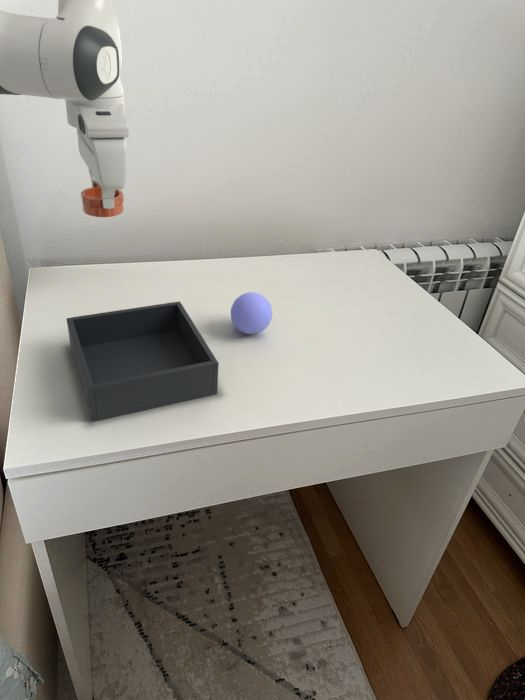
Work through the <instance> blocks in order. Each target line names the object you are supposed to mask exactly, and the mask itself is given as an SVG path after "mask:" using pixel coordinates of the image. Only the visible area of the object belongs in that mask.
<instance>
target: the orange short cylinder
mask: <svg viewBox="0 0 525 700" xmlns="http://www.w3.org/2000/svg"><path fill="white" fill-rule="evenodd" d="M101 196H102V192H101V187H92V186H91V187H88V188H85V189H83V190H81V192H80V200H81V203H82V204H81V205H82V211H83V213H84V214H86V215H88V216H89V217H96V218H113V217H116V216H119V215H121V214H122V213H124V208H125V207H124V193H123V191H122V190H121V189H120V190H115V195H114V207H113V208H110V209H105V208H104V207H103V205H102V202H101Z"/></svg>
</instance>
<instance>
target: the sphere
mask: <svg viewBox="0 0 525 700" xmlns="http://www.w3.org/2000/svg"><path fill="white" fill-rule="evenodd" d="M230 318H231V322H232V325H234V327H235V328H236V329H237V330H238V331H240V332H241V333H243V334H246V335H257V334H259V333H262V332H264V331H265V330H266V329H267V328H268V327H269V326H270V323H271V321H272V319H273V309H272V305H271V303H270V301H269V300H268V299H267V298H266V297H265V296H263V294H260V293H258V292H251V291H249V292H245V293H243V294H240V295H239V296H238V297H236V299H235V300H234V301H233V303H232V306H231V307H230Z"/></svg>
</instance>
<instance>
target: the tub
mask: <svg viewBox="0 0 525 700" xmlns="http://www.w3.org/2000/svg"><path fill="white" fill-rule="evenodd" d="M66 325H67V331H68V332H67V333H68V338H69V344H70V350H71V354H72V357H73V360H74V361H73V362H74V364H75V368H76V371H77V375H78V378H79V382H80V385H81V389H82V392H83V395H84V399H85V403H86V406H87V409H88V413H89V416H90V420H91V422H92V423H93V422H98V421H103V420H107V419H111V418H115V417H120V416H125V415H129V414H134V413H138V412H143V411H146V410H147V411H148V410H151V409H152V410H153V409H156V408H161V407H165V406H169V405H173V404H179V403H182V402H187V401H191V400H196V399H199V398H200V399H202V398H204V397H209V396H215V395H217V394H218V383H219V361H218V360H217V358H216V357H215V354H214V353H213V352H212V350H211V348H210V347H209V345H208V344H207V342H206V340H205V339H204V338H203V336H202V334H201V332H200V331H199V329H198V327H197V326H196V325H195V323H194V322H193V320H192V319H191V317H190V315H189V314H188V312H187V310H186V309H185V307H184V305H183V304H182V303H181V301H172V302H165V303H158V304H152V305H145V306H138V307H132V308H126V309H119V310H113V311H106V312H105V311H104V312H99V313H92V314H85V315H78V316H72V317H67V318H66Z"/></svg>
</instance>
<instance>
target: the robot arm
mask: <svg viewBox="0 0 525 700" xmlns="http://www.w3.org/2000/svg"><path fill="white" fill-rule="evenodd" d="M57 9H58V10H57V15H56V16H55V17H51V18H50V17H42V16H41V17H40V16H33V15H25V14H17V13H11V12H7V11H3V10H0V95H7V96H10V95H11V96H23V95H24V96H32V97H39V98H47V99H56V100H64V102H65V109H66V120H67V123H68V125H69V126H71V127H72V128H75V129H76V134H77V144H78V152H79V156H80V157H81V159H82V160H83V163H85V165H86V166H87V168H88V172H89V177H90V182H91V187H101V192H102V196H101V202H102V205H103V207H104V208H105V209H110V208H113V207H114V195H115V190H120V191H121V190H124V188H125V187H126V181H127V141H126V138H129V137H130V125H129V121H128V119H127V115H126V106H125V89H124V87H123V84H122V78H121V76H122V75H121V73H122V72H121V71H122V68H123V49H122V39H121V38H122V37H121V30H120V23H119V17H118V13H117V8H116V4H115V1H114V0H58V4H57Z"/></svg>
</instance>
